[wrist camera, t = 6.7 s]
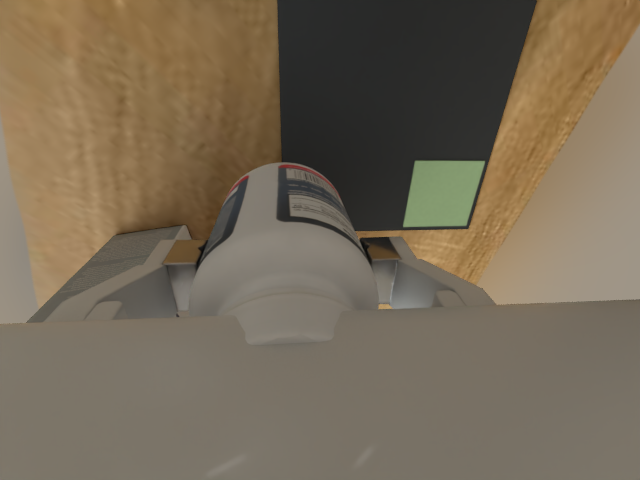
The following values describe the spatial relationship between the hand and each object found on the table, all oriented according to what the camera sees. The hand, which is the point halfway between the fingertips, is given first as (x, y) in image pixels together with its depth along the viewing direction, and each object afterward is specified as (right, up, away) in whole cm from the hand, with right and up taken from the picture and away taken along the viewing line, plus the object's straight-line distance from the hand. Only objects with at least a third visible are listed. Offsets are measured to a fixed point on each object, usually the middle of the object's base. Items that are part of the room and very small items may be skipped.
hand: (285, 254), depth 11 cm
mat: (+8, +10, +17) cm, 22 cm away
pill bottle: (0, +2, +3) cm, 3 cm away
